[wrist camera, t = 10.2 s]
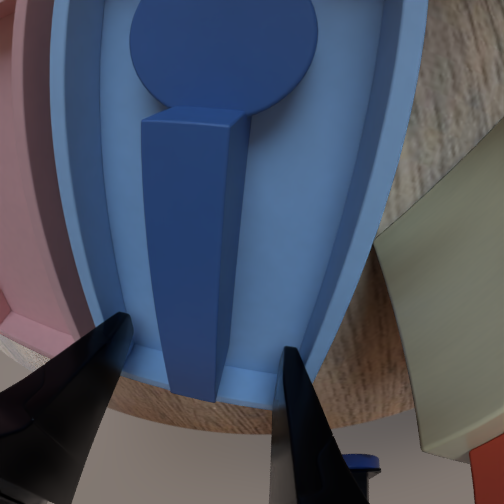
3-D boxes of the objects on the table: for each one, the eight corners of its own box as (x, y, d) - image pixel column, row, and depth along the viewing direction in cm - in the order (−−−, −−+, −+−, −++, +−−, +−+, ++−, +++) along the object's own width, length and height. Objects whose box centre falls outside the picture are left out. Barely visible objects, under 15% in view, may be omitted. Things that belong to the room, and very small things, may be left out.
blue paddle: (156, -31, 4) (98, -57, 2) (324, -27, 4) (336, -71, 2) (161, 330, 11) (138, 384, 9) (260, 351, 11) (250, 410, 9)
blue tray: (299, 375, 12) (296, 414, 11) (130, 340, 13) (113, 374, 11) (404, -48, 4) (431, -73, 2) (109, -58, 4) (68, -73, 3)
